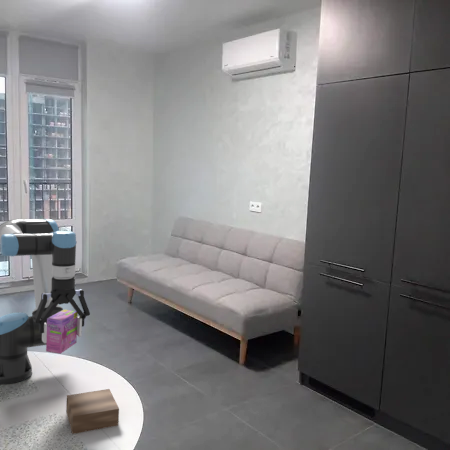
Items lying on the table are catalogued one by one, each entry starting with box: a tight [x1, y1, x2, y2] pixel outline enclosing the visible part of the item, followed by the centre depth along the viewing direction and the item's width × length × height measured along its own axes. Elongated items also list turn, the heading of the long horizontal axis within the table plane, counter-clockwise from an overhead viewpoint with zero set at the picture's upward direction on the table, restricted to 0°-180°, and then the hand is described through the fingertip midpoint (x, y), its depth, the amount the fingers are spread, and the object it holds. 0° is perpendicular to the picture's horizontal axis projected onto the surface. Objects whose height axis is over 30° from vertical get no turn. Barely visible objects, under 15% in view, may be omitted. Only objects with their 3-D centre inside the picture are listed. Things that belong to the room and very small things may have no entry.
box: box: [45, 309, 79, 355], centre depth 157 cm, size 10×6×12 cm, turn 168°
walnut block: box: [65, 388, 120, 435], centre depth 148 cm, size 14×14×6 cm
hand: (61, 338), depth 157 cm, fingers closed on box, 11 cm apart
